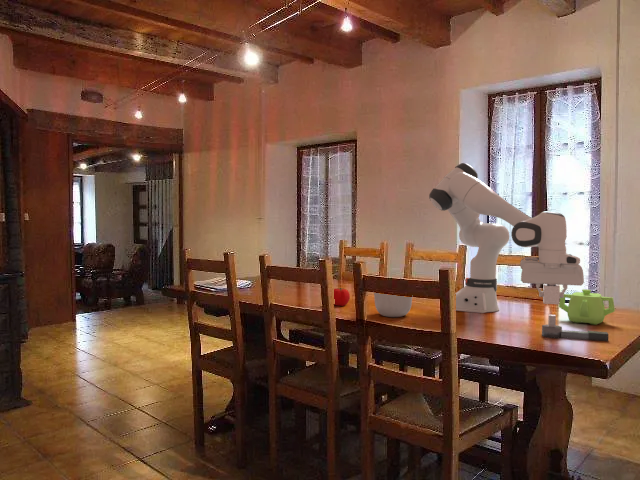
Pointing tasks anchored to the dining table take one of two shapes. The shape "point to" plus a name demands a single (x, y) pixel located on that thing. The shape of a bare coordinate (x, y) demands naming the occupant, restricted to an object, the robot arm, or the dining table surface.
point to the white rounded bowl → (392, 305)
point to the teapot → (586, 307)
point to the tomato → (341, 296)
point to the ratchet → (570, 332)
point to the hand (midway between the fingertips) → (551, 297)
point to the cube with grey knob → (551, 293)
